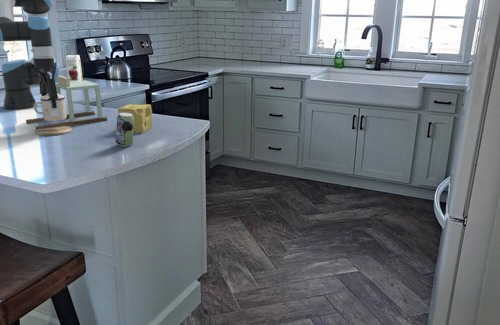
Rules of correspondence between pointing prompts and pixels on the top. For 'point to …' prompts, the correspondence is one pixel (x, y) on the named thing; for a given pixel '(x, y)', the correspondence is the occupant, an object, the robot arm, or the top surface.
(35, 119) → the rails
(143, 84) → the top surface
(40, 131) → the trivet
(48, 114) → the teacup with lid
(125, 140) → the beverage can
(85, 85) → the small green table
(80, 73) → the juice carton
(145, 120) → the cheese
